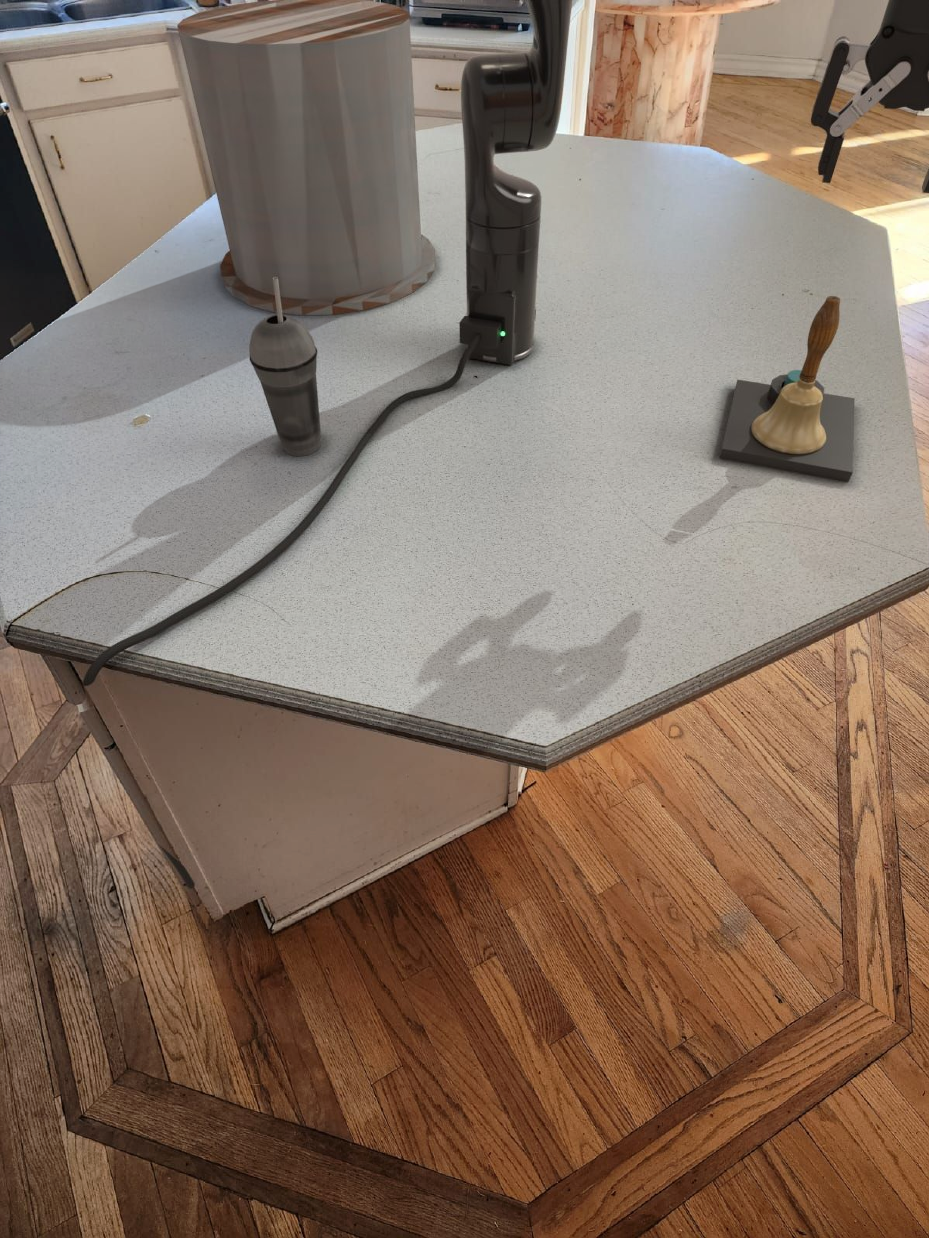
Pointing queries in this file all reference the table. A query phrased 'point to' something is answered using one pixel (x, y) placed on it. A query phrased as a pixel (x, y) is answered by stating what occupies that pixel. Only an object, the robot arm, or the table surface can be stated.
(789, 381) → the button
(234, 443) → the table surface
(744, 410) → the scale
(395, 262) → the storage basket
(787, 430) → the hand bell
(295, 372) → the beverage cup
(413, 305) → the table surface
